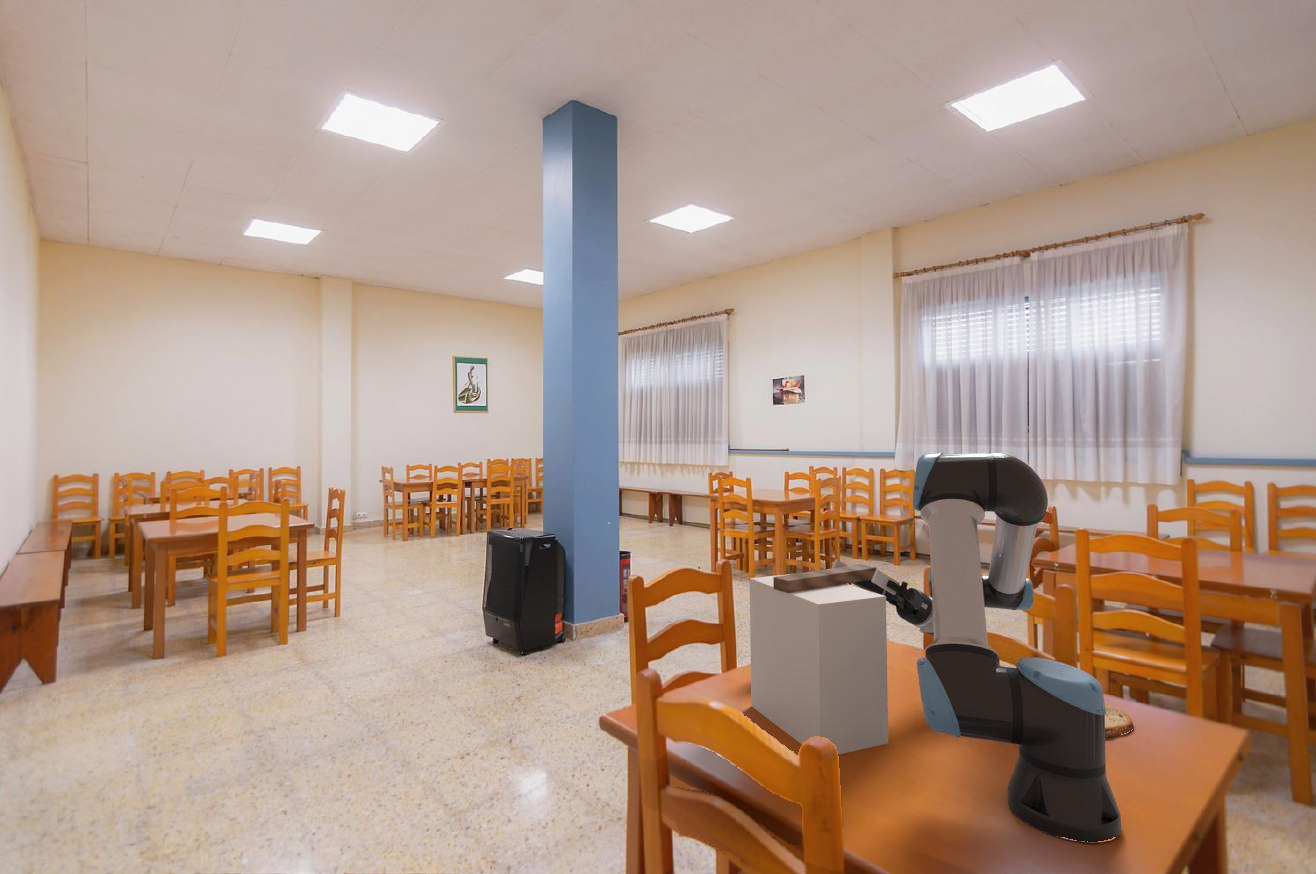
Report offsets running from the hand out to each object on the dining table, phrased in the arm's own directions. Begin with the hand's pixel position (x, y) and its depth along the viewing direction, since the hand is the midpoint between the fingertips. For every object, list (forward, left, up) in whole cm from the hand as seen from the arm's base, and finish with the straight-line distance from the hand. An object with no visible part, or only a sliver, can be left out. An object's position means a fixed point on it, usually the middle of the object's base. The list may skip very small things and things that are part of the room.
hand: (853, 569), depth 138 cm
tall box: (-7, +8, -32) cm, 33 cm away
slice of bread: (+10, -45, -32) cm, 56 cm away
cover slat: (-3, +6, -3) cm, 7 cm away
